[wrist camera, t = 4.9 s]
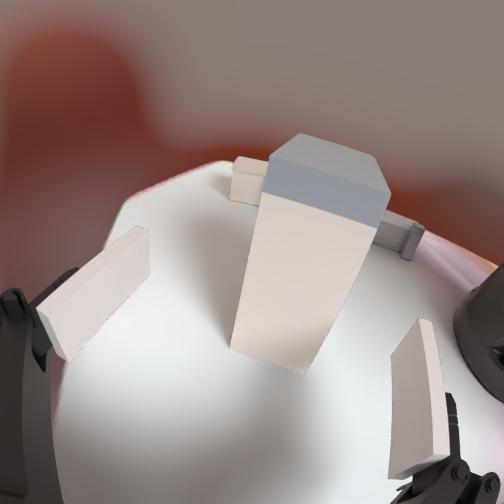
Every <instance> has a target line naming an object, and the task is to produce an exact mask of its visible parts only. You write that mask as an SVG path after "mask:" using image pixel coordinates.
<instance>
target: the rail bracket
mask: <svg viewBox="0 0 504 504" xmlns="http://www.w3.org/2000/svg"><path fill="white" fill-rule="evenodd" d="M424 231H425V228H424V227H423V225H420V224H418V223H417V222H416V221H414V220H411V219H408V218H406V217H403V216H401V215H398V214H396V213H393V212H390V211H387V210H385V212H384V214H383V217H382V219H381V222H380V224H379V227H378V229H377V232H376V234H375V236H374V239H373V241H372V243H374V244H377V245H380V246H383V247H386V248H389V249H391V250H394V251H397V252H399V253H400V257H401V258H404V259H407V260H409V261H410V260H411V258H412V256H413V254H414V252H415V250H416V248H417V246H418V244H419V242H420V240H421V238H422V236H423V234H424Z"/></svg>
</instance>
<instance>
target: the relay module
mask: <svg viewBox="0 0 504 504" xmlns="http://www.w3.org/2000/svg"><path fill="white" fill-rule="evenodd" d="M390 196H391V192H390V190H389V188H388V186H387V183H386V181H385V179H384V177H383V175H382V173H381V171H380V168H379V166H378V164H377V162H376V160H375V158H374V156H372V155H369V154H366V153H363V152H360V151H357V150H354V149H351V148H348V147H345V146H342V145H339V144H336V143H332V142H329V141H326V140H322V139H319V138H315V137H312V136H308V135H305V134H301V133H299V134H298V135H297V136H295V137H294V138H293V139H291V140H290V141H289V142H287V143H286V144H284V145H283V146H282V147H280V148H279V149H278V150H276V151H275V152H274V153H272V154H271V155H270V157H269V162H268V167H267V171H266V176H265V181H264V186H263V190H262V195H261V200H260V205H259V209H258V214H257V219H256V224H255V229H254V233H253V238H252V243H251V248H250V252H249V257H248V262H247V267H246V272H245V276H244V281H243V286H242V291H241V296H240V300H239V305H238V310H237V315H236V320H235V324H234V329H233V334H232V339H231V344H230V349H232V350H235V351H237V352H240V353H243V354H246V355H248V356H251V357H254V358H257V359H260V360H263V361H266V362H269V363H272V364H275V365H278V366H281V367H284V368H287V369H290V370H293V371H296V372H300V373H303V374H305V373H306V372H307V370H308V368H309V367H310V365H311V363H312V361H313V360H314V358H315V356H316V354H317V353H318V351H319V349H320V347H321V345H322V344H323V342H324V340H325V338H326V336H327V335H328V333H329V331H330V329H331V327H332V325H333V323H334V321H335V319H336V318H337V316H338V314H339V312H340V310H341V308H342V306H343V304H344V302H345V300H346V298H347V296H348V294H349V292H350V290H351V287H352V285H353V283H354V281H355V279H356V277H357V275H358V273H359V271H360V268H361V266H362V264H363V262H364V259H365V257H366V255H367V253H368V250H369V248H370V246H371V244H372V241H373V239H374V236H375V234H376V232H377V229H378V227H379V224H380V222H381V219H382V217H383V214H384V212H385V209H386V207H387V204H388V201H389V199H390Z"/></svg>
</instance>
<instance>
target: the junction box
mask: <svg viewBox="0 0 504 504" xmlns="http://www.w3.org/2000/svg"><path fill="white" fill-rule="evenodd" d="M267 167H268V162H265V161H260V160H256V159H251V158H246V157H240V156H239V157H238V158H237V159H236V161H235V162H234V163H233V165H232V170H233V176H232V182H231V188H230V194H229V200H232V201H237V202H242V203H247V204H251V205H256V206H259V205H260V200H261V195H262V190H263V186H264V181H265V176H266V171H267Z"/></svg>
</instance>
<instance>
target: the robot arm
mask: <svg viewBox="0 0 504 504" xmlns="http://www.w3.org/2000/svg"><path fill="white" fill-rule="evenodd" d="M149 275H150V266H149V230H148V229H145V228H142V227H139V226H135V227H133V228H132V229H131V230H129V231H128V232H127V233H125V234H124V235H123V236H121V237H120V238H119V239H117V240H116V241H115V242H114V243H112V244H111V245H110V246H108V247H107V248H106V249H104V250H103V251H102V252H101V253H100V254H98V255H97V256H96V257H94V258H93V259H92V260H91V261H89V262H88V263H87V264H86V265H85V266H83V267H82V268H81V269H79V268H77V267H76V268H73V269H71V270H69V271H67V272H65V273H64V274H63V275H62V276H60V277H59V278H58V280H56V281H55V282H53V283H52V285H50V286H49V287H47V288H46V289H45V290H44V291H43V292H42V293H41V294H39V295H38V296H37V297H36V298H35V299H34V300H33V301H32V302H30V304H27V301H26V298H25V296H24V294H23V292H22V291H21V290H20V289H18V288H12V289H8V290H6V291H4V292H3V293H2V294H1V295H0V504H64V503H63V499H62V495H61V490H60V485H59V480H58V474H57V468H56V462H55V455H54V447H53V438H52V426H51V411H50V351H49V349H50V348H51V347H52V346H53V347H54V349H55V351H56V353H57V354H58V355H59V356H60V357H62V358H63V359H64V360H66V361H67V362H68V363H70V362H71V360H72V359H73V358H74V357H75V356H76V355H77V353H78V352H79V351H80V350H81V349H82V348H83V347H84V345H85V344H86V343H87V342H88V341H89V340H90V339H91V337H92V336H93V335H94V334H95V333H96V332H97V331H98V330H99V329H100V327H101V326H102V325H103V324H104V323H105V322H106V321H107V320H108V319H109V318H110V316H111V315H112V314H113V313H114V312H115V311H116V310H117V309H118V308H119V307H120V306H121V305H122V304H123V302H124V301H125V300H126V299H127V298H128V297H129V296H130V295H131V294H132V293H133V292H134V291H135V290H136V289H137V288H138V287H139V286H140V285H141V284H142V283H143V281H144V280H145V279H146V278H147V277H148V276H149ZM454 329H455V334H456V338H457V341H458V344H459V347H460V349H461V351H462V353H463V355H464V357H465V359H466V361H467V363H468V364H469V366H470V368H471V369H472V371H473V372H474V374H475V375H476V376H477V378H478V379H479V380H480V381H481V383H482V384H483V385H484V386H485V387H486V388H487V389H488V390H489V391H490V392H491V393H492V394H493V395H494V396H496V397H497V398H498V399H499V400H501V401H502V402H504V262H503V263H502V264H501V265H500V266H499V267H498V268H497V269H496V270H495V271H494V272H493V273H492V274H491V275H490V276H489V277H488V278H487V279H486V280H485V281H484V282H483V283H482V284H481V285H480V286H479V287H476V288H474V289H473V290H472V291H470V292H469V293H468V294H467V296H466V297H465V298H464V300H463V301H462V303H461V304H460V306H459V307H458V309H457V310H456V313H455V316H454ZM391 368H392V427H391V446H390V460H389V471H388V479H398V480H404V479H406V478H408V477H410V476H412V475H413V479H412V482H410V483H408V484H405V485H403V486H401V487H399V488H398V489H396V490H397V491H400V490H402V489H403V490H402V491H401V492H400V494H399V495H398V496H397V497H396V498H395V499H394V500H393V501H392V502H391V503H390V504H496V501H497V498H498V495H499V491H500V479H499V476H498V475H497V474H496V473H494V472H490V473H487V474H485V475H483V476H479V475H477V474H474V473H472V472H470V469H469V466H468V464H467V463H466V462H465V461H464V460H462V459H461V456H460V441H459V428H458V426H457V424H458V418H457V417H456V416H457V410H456V403H455V401H454V399H453V397H452V394H451V393H446V392H445V390H444V383H443V376H442V370H441V364H440V359H439V353H438V348H437V343H436V339H435V334H434V330H433V325H432V321H428V320H425V319H422V318H418V319H417V321H416V322H415V324H414V325H413V326H412V328H411V329H410V331H409V332H408V333H407V335H406V336H405V338H404V339H403V340H402V342H401V343H400V344H399V346H398V347H397V348H396V350H395V351H394V352H393V354H392V355H391Z"/></svg>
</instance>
